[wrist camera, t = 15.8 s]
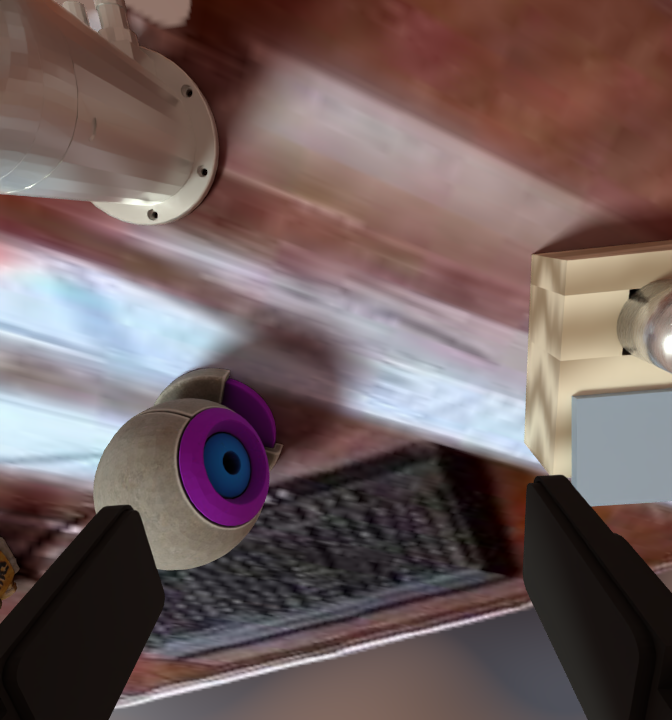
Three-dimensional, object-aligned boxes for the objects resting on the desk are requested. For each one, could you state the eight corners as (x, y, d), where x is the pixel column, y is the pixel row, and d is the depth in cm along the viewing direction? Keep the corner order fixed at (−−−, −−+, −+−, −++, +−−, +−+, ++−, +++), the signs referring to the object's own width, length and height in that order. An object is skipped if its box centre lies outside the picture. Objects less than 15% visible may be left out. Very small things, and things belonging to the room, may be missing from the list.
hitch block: (531, 254, 35) (567, 260, 29) (706, 236, 34) (778, 238, 28) (524, 442, 40) (552, 478, 35) (674, 431, 39) (728, 466, 34)
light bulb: (580, 274, 35) (673, 295, 25) (655, 266, 34) (780, 285, 24) (575, 342, 36) (659, 387, 26) (645, 336, 36) (758, 379, 26)
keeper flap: (571, 396, 32) (576, 399, 31) (734, 382, 31) (743, 385, 31) (571, 502, 34) (576, 507, 33) (726, 492, 33) (735, 497, 32)
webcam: (306, 451, 42) (283, 571, 27) (205, 503, 44) (135, 637, 30) (232, 345, 38) (162, 417, 24) (128, 407, 41) (8, 506, 26)
